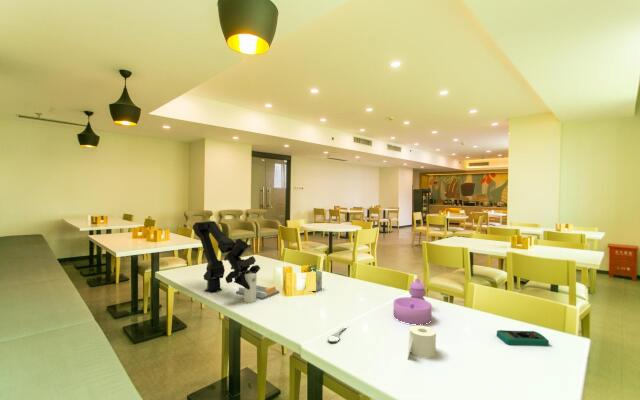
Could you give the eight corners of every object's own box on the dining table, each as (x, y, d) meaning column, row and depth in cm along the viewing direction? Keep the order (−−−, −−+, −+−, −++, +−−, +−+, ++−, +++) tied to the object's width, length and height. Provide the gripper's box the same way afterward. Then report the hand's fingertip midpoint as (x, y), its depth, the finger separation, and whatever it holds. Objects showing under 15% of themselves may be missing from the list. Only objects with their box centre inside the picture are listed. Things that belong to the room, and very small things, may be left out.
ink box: (314, 292, 162) (314, 267, 162) (308, 291, 164) (308, 266, 164) (321, 289, 167) (322, 265, 167) (316, 288, 170) (316, 264, 170)
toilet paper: (407, 359, 96) (407, 337, 96) (410, 343, 106) (410, 323, 106) (435, 365, 93) (435, 342, 93) (435, 348, 103) (436, 327, 103)
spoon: (324, 344, 106) (324, 339, 106) (345, 322, 125) (345, 318, 125) (335, 346, 104) (335, 341, 104) (355, 324, 123) (355, 320, 123)
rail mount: (236, 293, 158) (236, 285, 158) (253, 287, 170) (253, 280, 170) (262, 299, 149) (262, 291, 149) (279, 292, 161) (279, 285, 161)
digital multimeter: (550, 347, 106) (551, 339, 106) (507, 346, 106) (507, 337, 106) (536, 338, 113) (536, 330, 113) (495, 336, 114) (495, 329, 114)
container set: (428, 328, 119) (429, 294, 119) (389, 321, 126) (390, 289, 126) (435, 308, 142) (435, 279, 141) (401, 302, 148) (402, 275, 148)
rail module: (243, 301, 146) (244, 274, 146) (249, 299, 150) (250, 272, 150) (250, 303, 144) (250, 275, 144) (256, 300, 148) (256, 273, 147)
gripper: (230, 254, 141) (247, 282, 135) (257, 249, 157) (274, 273, 151) (218, 269, 145) (234, 296, 139) (246, 262, 161) (262, 286, 155)
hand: (252, 287), depth 146 cm, fingers closed on rail module, 4 cm apart
